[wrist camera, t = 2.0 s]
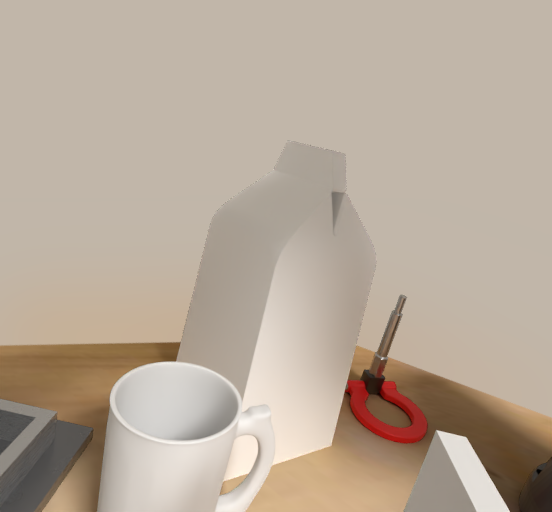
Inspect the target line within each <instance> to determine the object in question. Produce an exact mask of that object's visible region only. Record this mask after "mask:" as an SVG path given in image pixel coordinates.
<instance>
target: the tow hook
mask: <svg viewBox="0 0 552 512" xmlns="http://www.w3.org/2000/svg"><path fill="white" fill-rule="evenodd" d="M406 298H407V297H406V296H404V295H400V296H399V299H398V302H397V305H396V308H395V310H393V311H392V313H391V315H390V318H389V321H388V324H387V326H386V329H385V332H384V335H383V337H382V340H381V343H380V346H379V348H378V351H377V352H375V355H374V357H373V360H372V363H371V366H370V368H369V370H364V372H363V375H362V377H361V380H347V384H346V388H345V392H349V393H350V395H351V399H350V406H351V409H352V412H353V413H354V415H355V416H356V418H357V419H358V420H359V421H360V422H361V423H362V424H363V425H364V426H365V427H366V428H368V429H369V430H371V431H372V432H373V433H375V434H377V435H379V436H381V437H383V438H385V439H388V440H391V441H394V442H400V443H415V442H417V441H420V440H421V439H422V438H423V437H424V436H425V433H426V431H427V426H428V425H427V420H426V418H425V416H424V414H423V413H422V411H421V410H420V409H419V408H418V407H417V406H416V405H415V404H414V403H413V402H412V401H411V400H409V399H408V398H406V397H405V396H403V395H402V394H400V393H399V392H398V391H397V390H396V384H395V382H393V381H384V380H385V377H384V376H383V375H382V373H383V371H384V368H385V365H386V363H387V360H388V357H387V355H388V352H389V350H390V347H391V344H392V341H393V339H394V336H395V333H396V331H397V328H398V325H399V323H400V320H401V317H402V314H401V312H402V309H403V306H404V303H405V301H406ZM379 393H380V394H381V395H382V396H383V398H384V399H386V400H388V401H390V402H393V403H395V404H396V405H398V406H399V407H401V408H402V409H403V410H404V411H405V412H406V413H407V414H408V415H409V417H410V419H411V422H412V425H411V426H409V427H406V428H398V427H393V426H390V425H387V424H385V423H383V422H381V421H380V420H378V419H377V418H375V417H374V416H373V415H372V414H371V413H370V412H369V411H368V409H367V408H366V405H365V401H366V400H367V398H368V396H369V394H379Z"/></svg>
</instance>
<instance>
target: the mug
mask: <svg viewBox="0 0 552 512" xmlns="http://www.w3.org/2000/svg"><path fill="white" fill-rule="evenodd" d="M242 435H252V436H254V437H255V438H256V439H257V442H258V454H257V457H256V460H255V463H254V465H253V467H252V469H251V471H250V472H249V474H248V475H247V477H246V478H245V479H244V481H243V482H242V483H241V484H239V485H238V486H237V487H236V488H235V489H233V490H232V491H231V492H229V493H227V494H223V495H219V494H220V491H221V487H222V483H223V480H224V476H225V472H226V469H227V465H228V461H229V458H230V454H231V450H232V447H233V443H234V440H235V439H236V438H237V437H239V436H242ZM274 455H275V436H274V431H273V427H272V423H271V410H270V408H269V406H268V405H266V404H263V405H259V406H251V407H249V408H248V409H247V410H246V411H245V412H242V399H241V396H240V394H239V392H238V390H237V389H236V388H235V386H234V385H233V384H232V383H231V382H230V381H229V380H227V379H226V378H225V377H223V376H222V375H220V374H219V373H217V372H215V371H213V370H211V369H208V368H205V367H203V366H199V365H195V364H191V363H185V362H157V363H151V364H147V365H143V366H140V367H138V368H135V369H133V370H131V371H129V372H128V373H126V374H125V375H123V376H122V377H121V378H120V379H119V380H118V381H117V382H116V383H115V385H114V386H113V388H112V390H111V393H110V409H109V415H108V421H107V428H106V437H105V446H104V455H103V464H102V472H101V481H100V490H99V499H98V507H97V512H245V511H246V510H247V508H248V507H249V505H250V504H251V502H252V501H253V499H254V497H255V496H256V494H257V493H258V491H259V490H260V488H261V486H262V485H263V483H264V481H265V479H266V478H267V476H268V473H269V471H270V469H271V466H272V463H273V460H274Z"/></svg>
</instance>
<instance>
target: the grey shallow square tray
mask: <svg viewBox="0 0 552 512" xmlns="http://www.w3.org/2000/svg"><path fill="white" fill-rule="evenodd" d="M92 435H93V428H91V427H86V426H82V425H77V424H73V423H69V422H64V421H60V420H57V412H56V411H52V410H47V409H43V408H39V407H34V406H30V405H25V404H21V403H17V402H12V401H8V400H3V399H0V512H42V510H43V509H44V507H45V506H46V504H47V503H48V502H49V500H50V499H51V497H52V496H53V494H54V493H55V491H56V490H57V489H58V487H59V486H60V484H61V483H62V481H63V480H64V478H65V477H66V476H67V474H68V473H69V471H70V470H71V468H72V467H73V465H74V464H75V462H76V461H77V460H78V458H79V457H80V455H81V454H82V452H83V451H84V449H85V448H86V447H87V445H88V444H89V442H90V441H91V439H92Z"/></svg>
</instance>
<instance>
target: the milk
mask: <svg viewBox="0 0 552 512" xmlns="http://www.w3.org/2000/svg"><path fill="white" fill-rule="evenodd" d="M345 191H346V160H345V154H344V153H340V152H336V151H332V150H328V149H323V148H319V147H314V146H311V145H306V144H302V143H298V142H294V141H289V140H288V141H287V143H286V145H285V147H284V149H283V151H282V153H281V155H280V157H279V159H278V161H277V164H276V165H275V167H274V170H273V171H271V172H269V173H268V174H266V175H265V176H263V177H262V178H260V179H259V180H258V181H256V182H255V183H253V184H252V185H250V186H249V187H247V188H246V189H244V190H243V191H241V192H240V193H239V194H237V195H236V196H234V197H233V198H231V199H230V200H229V201H227V202H226V203H225V204H223V205H222V206H221V207H220V208H219V209H218V210H217V212H216V213H215V215H214V216H213V218H212V221H211V223H210V227H209V231H208V235H207V239H206V243H205V247H204V251H203V255H202V259H201V263H200V267H199V271H198V275H197V279H196V283H195V287H194V291H193V295H192V300H191V303H190V307H189V311H188V316H187V320H186V324H185V328H184V332H183V336H182V340H181V344H180V348H179V352H178V356H177V360H176V362H185V363H191V364H195V365H199V366H203V367H205V368H208V369H211V370H213V371H215V372H217V373H219V374H220V375H222V376H223V377H225V378H226V379H227V380H229V381H230V382H231V383H232V384H233V385H234V386H235V388H236V389H237V390H238V392H239V394H240V396H241V399H242V412H245V411H246V410H247V409H248V408H249V407H251V406H259V405H263V404H266V405H268V406H269V408H270V410H271V423H272V427H273V431H274V436H275V455H274V460H273V463H272V465H274V464H277V463H280V462H283V461H287V460H290V459H293V458H296V457H299V456H302V455H305V454H308V453H311V452H314V451H317V450H320V449H323V448H326V447H329V446H331V444H332V440H333V436H334V432H335V428H336V424H337V420H338V416H339V412H340V408H341V404H342V400H343V396H344V392H345V388H346V384H347V380H348V376H349V372H350V368H351V364H352V360H353V356H354V352H355V348H356V344H357V340H358V336H359V332H360V328H361V324H362V320H363V316H364V312H365V308H366V304H367V300H368V296H369V292H370V288H371V284H372V280H373V276H374V272H375V267H376V253H375V250H374V246H373V244H372V242H371V239H370V237H369V235H368V234H367V232H366V230H365V228H364V226H363V224H362V222H361V220H360V218H359V216H358V214H357V212H356V210H355V208H354V207H353V205H352V203H351V201H350V199H349V197H348V195H347V194H346V193H345ZM257 454H258V442H257V439H256V438H255V437H254V436H252V435H242V436H239V437H237V438H236V439H235V440H234V443H233V447H232V450H231V454H230V458H229V461H228V465H227V469H226V472H225V476H224V480H223V481H226V480H229V479H232V478H235V477H238V476H241V475H244V474H247V473H249V472H250V471H251V469H252V467H253V465H254V463H255V460H256V457H257Z"/></svg>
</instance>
